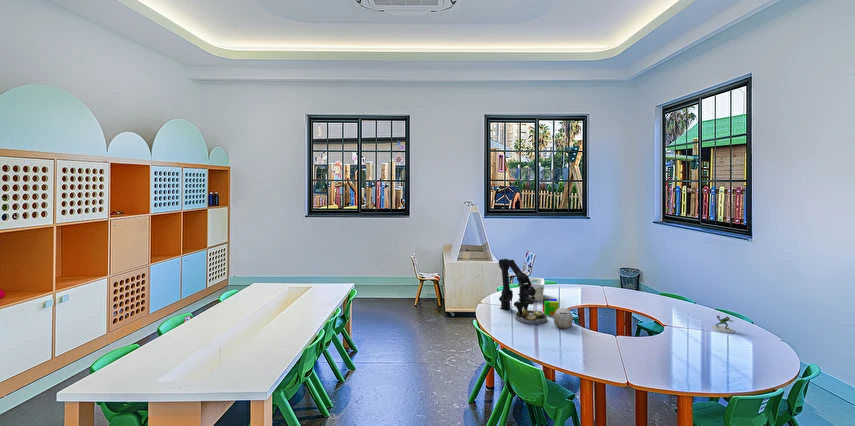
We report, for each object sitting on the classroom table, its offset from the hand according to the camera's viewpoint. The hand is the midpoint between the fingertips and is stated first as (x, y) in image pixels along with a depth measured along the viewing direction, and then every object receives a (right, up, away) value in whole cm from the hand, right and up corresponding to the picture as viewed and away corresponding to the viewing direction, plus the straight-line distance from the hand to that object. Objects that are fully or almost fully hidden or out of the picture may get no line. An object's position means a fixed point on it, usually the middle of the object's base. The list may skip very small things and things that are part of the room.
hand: (523, 313), depth 287 cm
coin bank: (+23, -4, -17) cm, 29 cm away
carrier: (+5, -3, -4) cm, 7 cm away
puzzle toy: (+23, -2, +8) cm, 24 cm away
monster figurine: (+126, -4, -29) cm, 129 cm away
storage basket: (+22, +1, +49) cm, 54 cm away
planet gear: (0, -1, 0) cm, 1 cm away
